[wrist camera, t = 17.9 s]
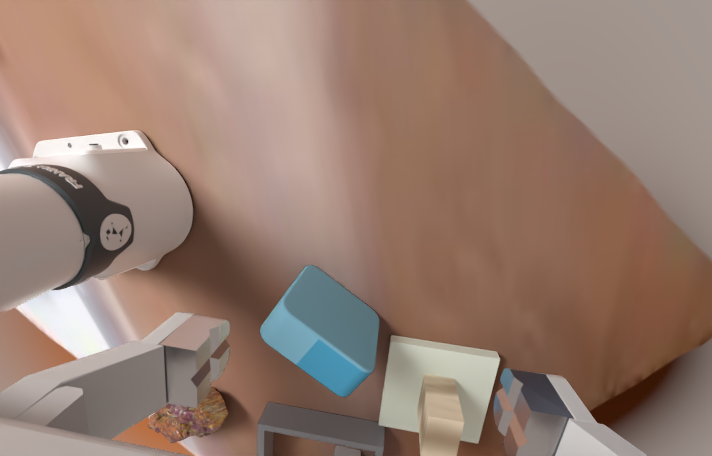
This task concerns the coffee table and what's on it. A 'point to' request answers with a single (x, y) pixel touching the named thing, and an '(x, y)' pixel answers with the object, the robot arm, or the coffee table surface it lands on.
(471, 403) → the board
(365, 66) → the coffee table surface
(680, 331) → the coffee table surface
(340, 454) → the grey box
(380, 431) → the bin
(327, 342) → the data package
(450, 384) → the birch box
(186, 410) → the mineral specimen
